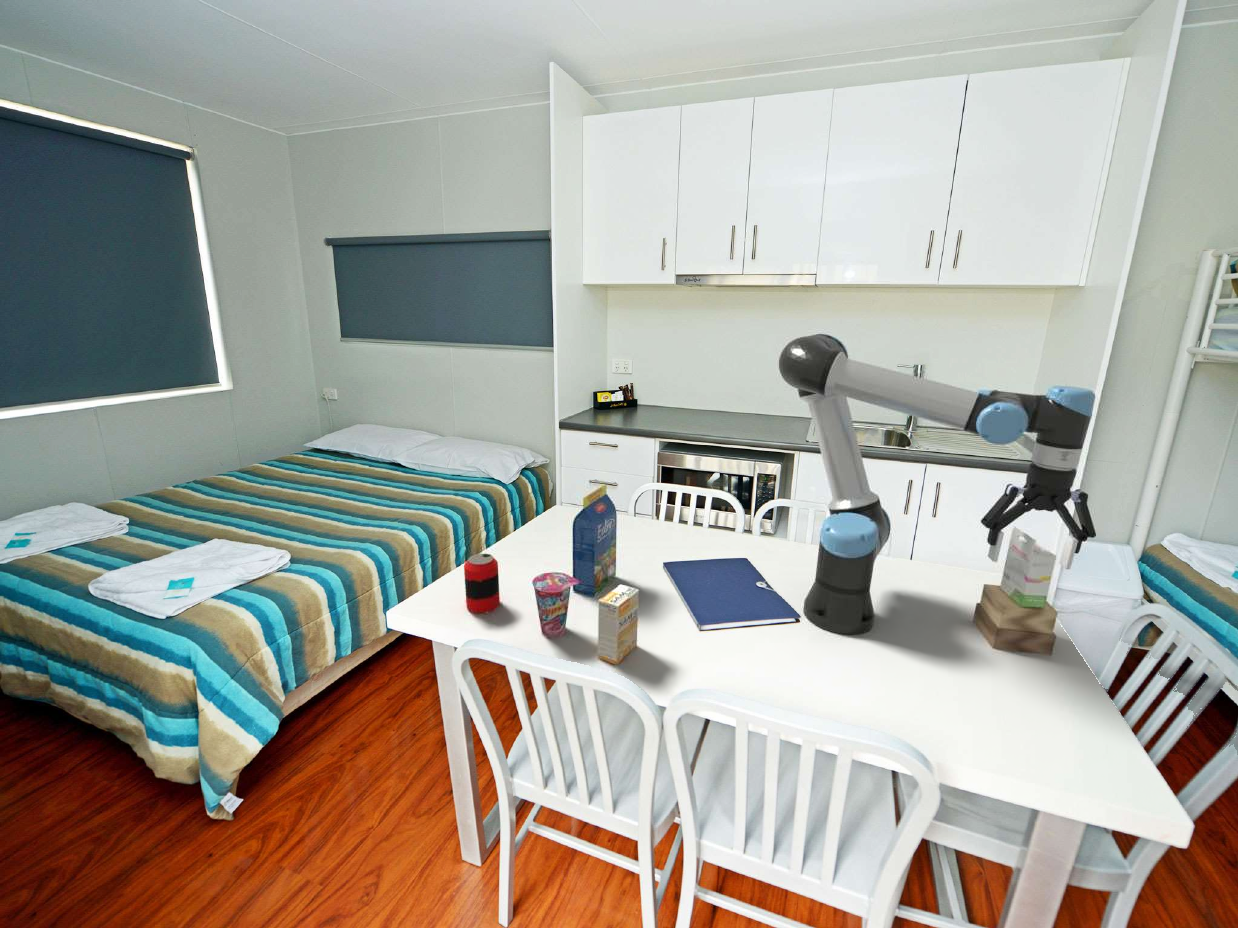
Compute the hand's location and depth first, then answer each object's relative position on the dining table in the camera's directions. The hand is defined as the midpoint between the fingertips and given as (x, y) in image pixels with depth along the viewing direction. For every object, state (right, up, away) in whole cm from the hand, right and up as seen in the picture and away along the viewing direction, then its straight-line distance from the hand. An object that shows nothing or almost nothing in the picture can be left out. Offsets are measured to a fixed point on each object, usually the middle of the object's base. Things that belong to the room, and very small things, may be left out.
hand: (1027, 562), depth 120 cm
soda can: (-117, -13, +14) cm, 119 cm away
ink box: (0, -8, +2) cm, 8 cm away
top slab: (0, -13, +4) cm, 13 cm away
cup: (-99, -16, +5) cm, 101 cm away
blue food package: (-92, -10, +25) cm, 95 cm away
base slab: (0, -17, +5) cm, 18 cm away
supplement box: (-86, -18, -2) cm, 87 cm away
